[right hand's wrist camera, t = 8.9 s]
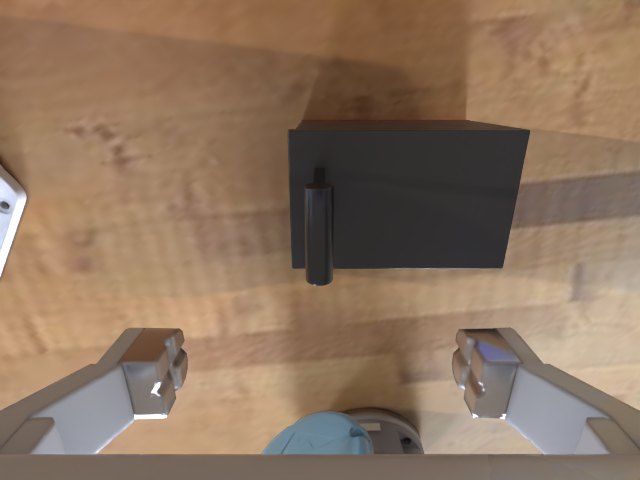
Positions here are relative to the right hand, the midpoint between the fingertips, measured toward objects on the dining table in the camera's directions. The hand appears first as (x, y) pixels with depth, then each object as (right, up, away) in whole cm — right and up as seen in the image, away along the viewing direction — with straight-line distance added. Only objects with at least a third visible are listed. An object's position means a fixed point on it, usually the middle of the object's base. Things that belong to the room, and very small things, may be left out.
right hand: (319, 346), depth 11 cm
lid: (+6, +6, +15) cm, 18 cm away
